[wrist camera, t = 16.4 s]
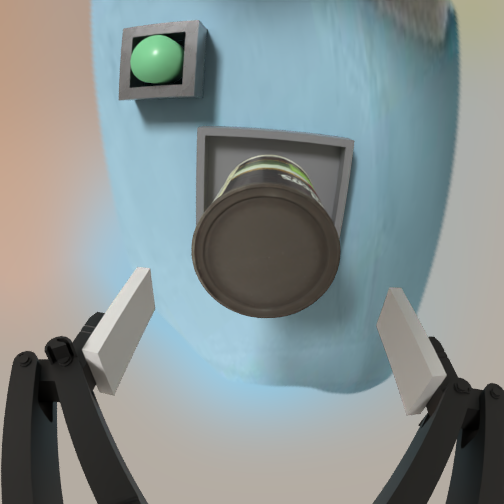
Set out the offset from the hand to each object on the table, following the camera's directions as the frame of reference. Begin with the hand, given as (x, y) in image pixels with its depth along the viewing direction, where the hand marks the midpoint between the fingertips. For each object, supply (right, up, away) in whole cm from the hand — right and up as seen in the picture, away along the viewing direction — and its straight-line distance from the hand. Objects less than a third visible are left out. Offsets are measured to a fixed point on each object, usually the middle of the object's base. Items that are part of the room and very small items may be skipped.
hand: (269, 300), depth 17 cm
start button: (-10, +23, +11) cm, 27 cm away
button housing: (-10, +23, +12) cm, 28 cm away
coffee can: (+1, +8, +18) cm, 19 cm away
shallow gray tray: (+1, +9, +18) cm, 20 cm away
